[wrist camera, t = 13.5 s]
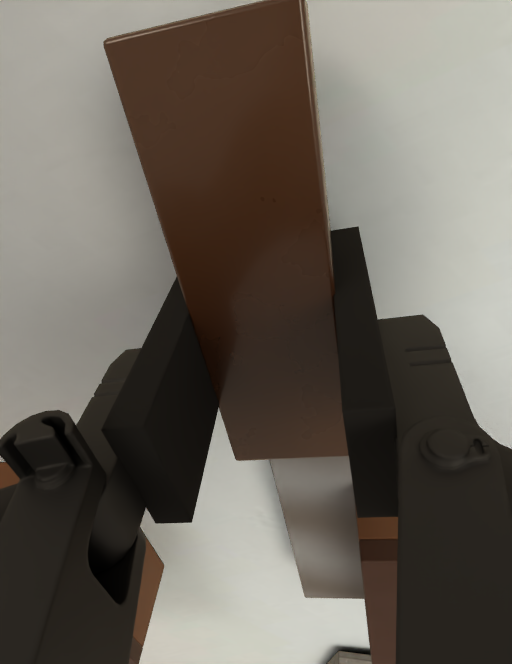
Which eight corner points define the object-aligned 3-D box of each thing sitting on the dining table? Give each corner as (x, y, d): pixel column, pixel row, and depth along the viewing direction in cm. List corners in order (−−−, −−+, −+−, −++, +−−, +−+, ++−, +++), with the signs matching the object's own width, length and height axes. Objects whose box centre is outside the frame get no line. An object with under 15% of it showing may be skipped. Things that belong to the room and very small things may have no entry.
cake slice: (349, 441, 19) (360, 562, 15) (452, 436, 18) (493, 562, 14) (363, 565, 24) (373, 677, 20) (441, 565, 23) (468, 682, 19)
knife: (162, 33, 10) (99, 39, 7) (307, -1, 9) (303, -10, 6) (303, 585, 23) (301, 668, 20) (366, 586, 22) (375, 672, 20)
